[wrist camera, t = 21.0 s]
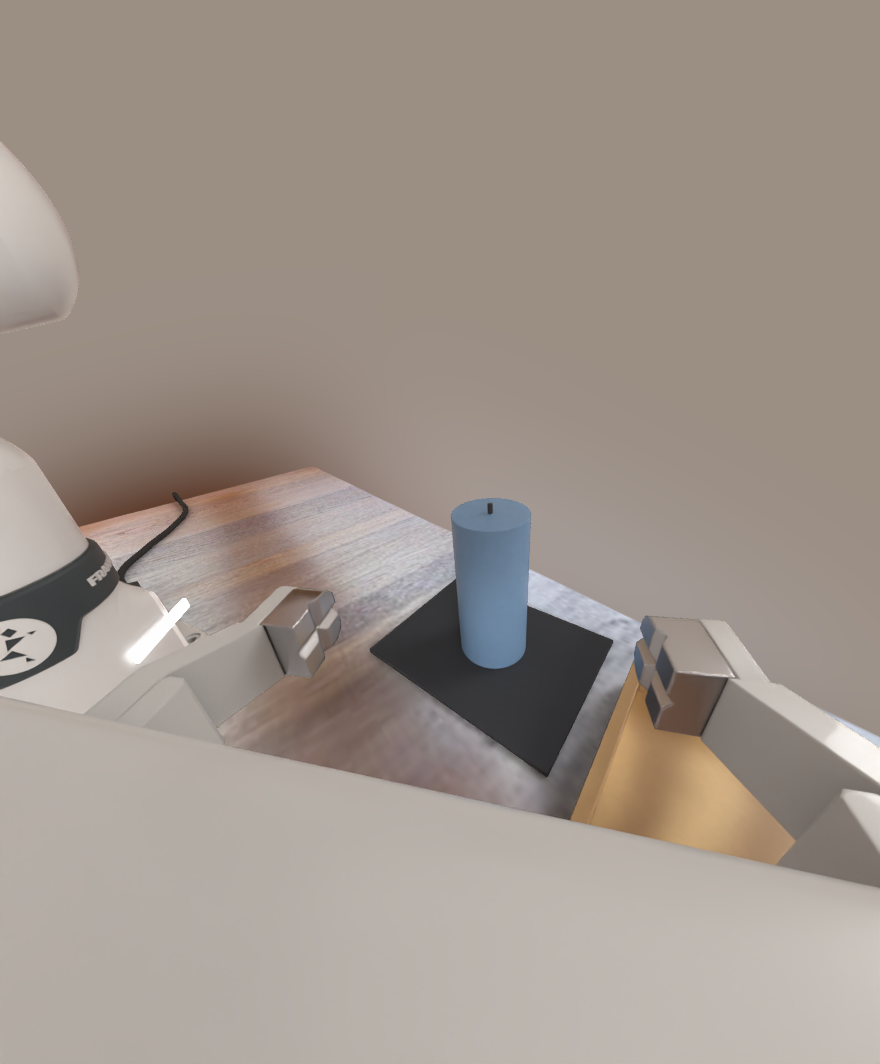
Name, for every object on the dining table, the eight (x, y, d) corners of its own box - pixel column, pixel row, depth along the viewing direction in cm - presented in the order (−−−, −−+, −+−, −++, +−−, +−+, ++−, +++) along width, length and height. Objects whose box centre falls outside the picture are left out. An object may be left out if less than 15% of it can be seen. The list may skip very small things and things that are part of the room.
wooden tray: (559, 858, 18) (564, 833, 17) (628, 683, 27) (634, 658, 26) (1132, 1338, 9) (1241, 1366, 8) (950, 832, 18) (987, 805, 16)
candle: (448, 648, 32) (433, 509, 25) (484, 612, 36) (479, 484, 29) (504, 680, 28) (504, 528, 21) (537, 636, 32) (545, 496, 25)
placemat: (370, 652, 33) (369, 649, 32) (457, 580, 42) (457, 577, 42) (547, 777, 22) (547, 774, 22) (612, 643, 31) (613, 640, 31)
